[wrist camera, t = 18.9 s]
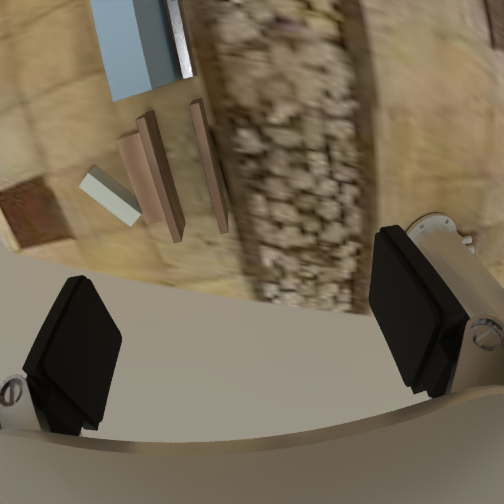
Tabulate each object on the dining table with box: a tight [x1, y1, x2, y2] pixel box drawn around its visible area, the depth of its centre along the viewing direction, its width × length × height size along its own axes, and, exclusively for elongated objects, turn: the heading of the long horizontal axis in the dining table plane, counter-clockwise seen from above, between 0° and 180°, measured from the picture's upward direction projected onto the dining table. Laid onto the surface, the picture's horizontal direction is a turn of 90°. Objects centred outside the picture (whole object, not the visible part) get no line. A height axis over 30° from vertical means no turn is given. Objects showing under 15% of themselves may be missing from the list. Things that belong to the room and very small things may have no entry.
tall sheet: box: [91, 0, 181, 102], centre depth 21 cm, size 3×14×16 cm, turn 10°
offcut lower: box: [116, 130, 166, 224], centre depth 37 cm, size 4×12×2 cm, turn 11°
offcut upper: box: [79, 166, 142, 227], centre depth 38 cm, size 3×9×2 cm
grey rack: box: [167, 0, 197, 79], centre depth 26 cm, size 7×14×5 cm, turn 10°
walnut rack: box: [136, 98, 229, 243], centre depth 36 cm, size 7×16×5 cm, turn 9°
